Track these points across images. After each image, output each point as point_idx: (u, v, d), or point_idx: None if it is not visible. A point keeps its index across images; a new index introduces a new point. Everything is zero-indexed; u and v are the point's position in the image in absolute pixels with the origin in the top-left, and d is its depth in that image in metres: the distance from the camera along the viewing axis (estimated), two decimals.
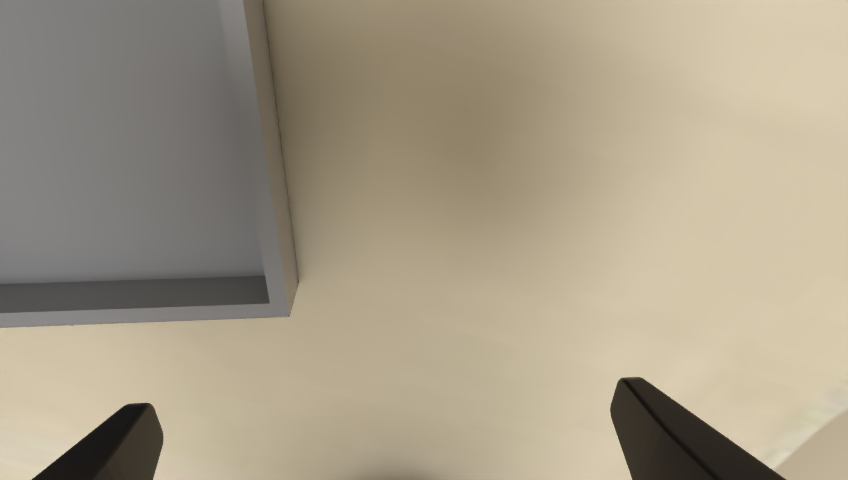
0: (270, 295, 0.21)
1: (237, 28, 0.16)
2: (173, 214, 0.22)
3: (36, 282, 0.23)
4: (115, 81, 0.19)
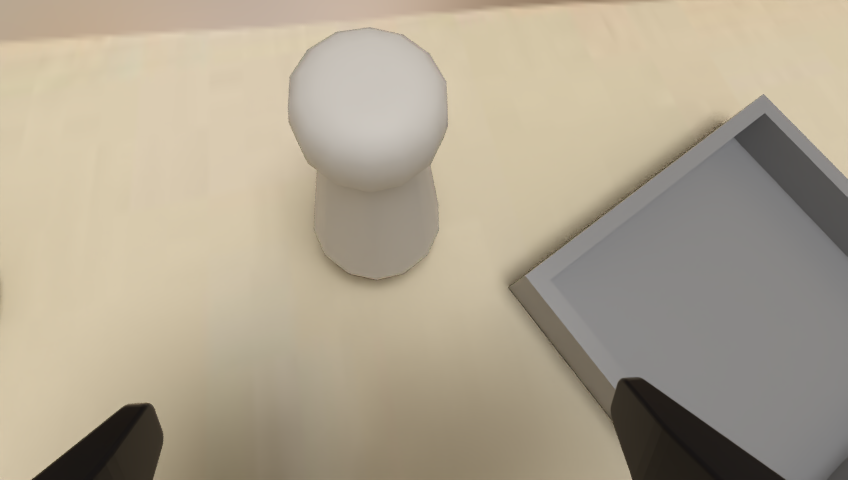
0: None
1: None
2: (732, 426, 0.22)
3: None
4: (797, 335, 0.23)
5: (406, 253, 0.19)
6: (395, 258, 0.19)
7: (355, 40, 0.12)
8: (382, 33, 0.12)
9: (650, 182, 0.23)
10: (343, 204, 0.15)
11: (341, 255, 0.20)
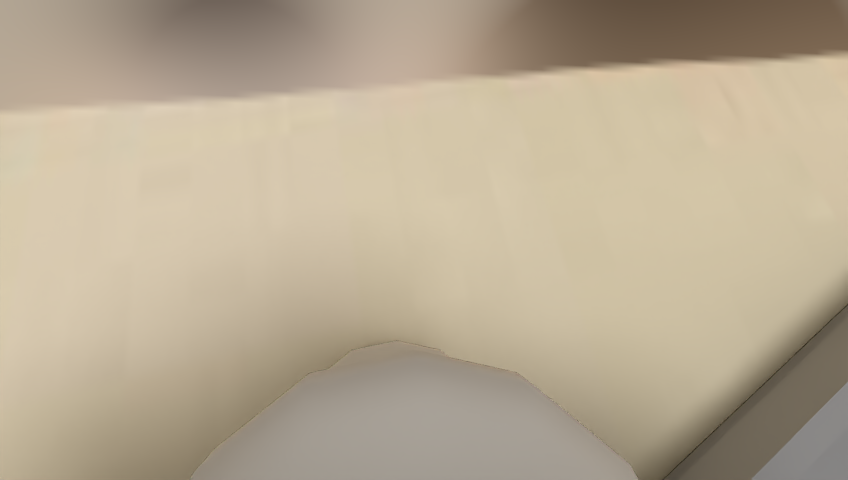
0: None
1: None
2: None
3: None
4: None
5: None
6: None
7: None
8: (473, 430, 0.03)
9: None
10: None
11: None
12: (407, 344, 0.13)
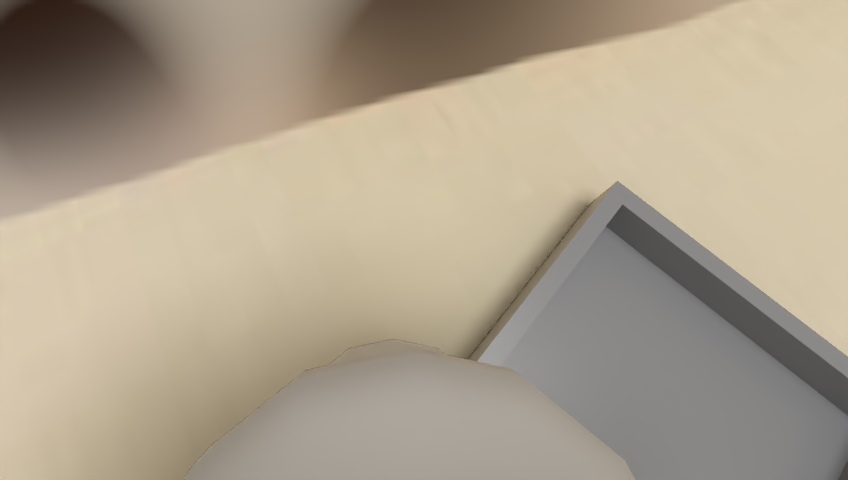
0: None
1: None
2: None
3: None
4: (708, 449, 0.21)
5: None
6: None
7: None
8: (468, 426, 0.03)
9: (505, 328, 0.19)
10: None
11: None
12: (404, 342, 0.13)
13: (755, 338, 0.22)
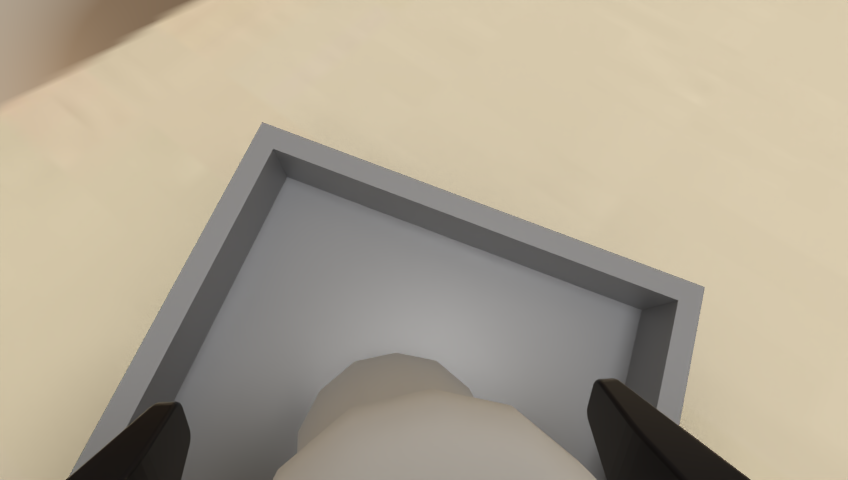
0: None
1: (673, 402, 0.15)
2: None
3: None
4: None
5: None
6: None
7: None
8: (482, 458, 0.04)
9: (138, 355, 0.14)
10: None
11: None
12: (406, 356, 0.14)
13: (496, 252, 0.18)
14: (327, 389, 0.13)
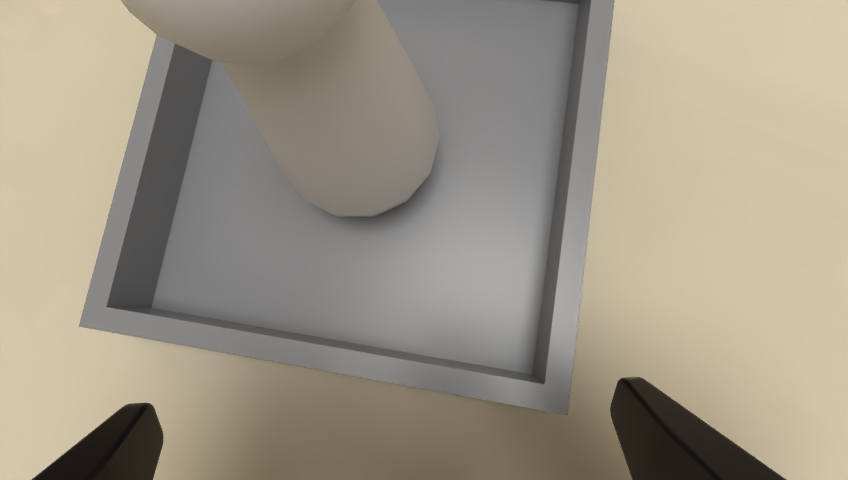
0: (549, 370, 0.15)
1: (599, 46, 0.16)
2: (429, 261, 0.18)
3: (233, 321, 0.18)
4: None
5: (397, 171, 0.14)
6: (383, 180, 0.14)
7: None
8: None
9: (139, 110, 0.17)
10: (270, 109, 0.10)
11: (315, 194, 0.15)
12: None
13: None
14: None
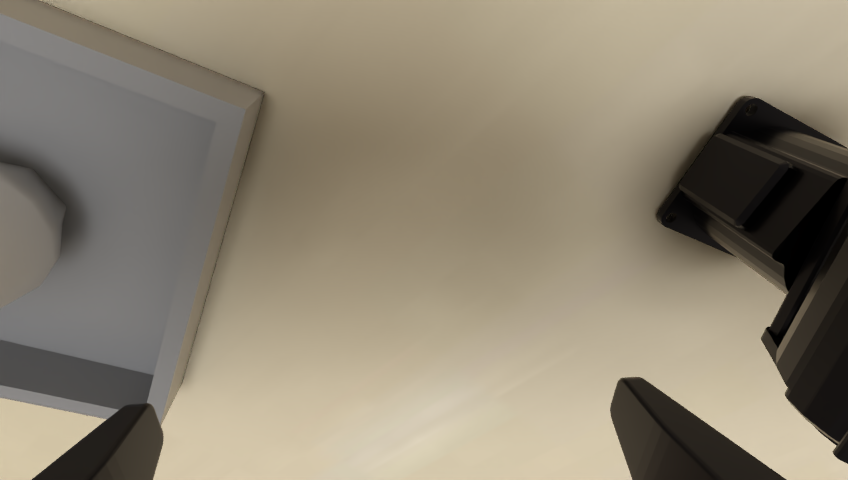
0: (203, 114, 0.16)
1: None
2: (120, 173, 0.19)
3: None
4: None
5: None
6: None
7: None
8: None
9: None
10: None
11: (18, 287, 0.17)
12: None
13: None
14: None
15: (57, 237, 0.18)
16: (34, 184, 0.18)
